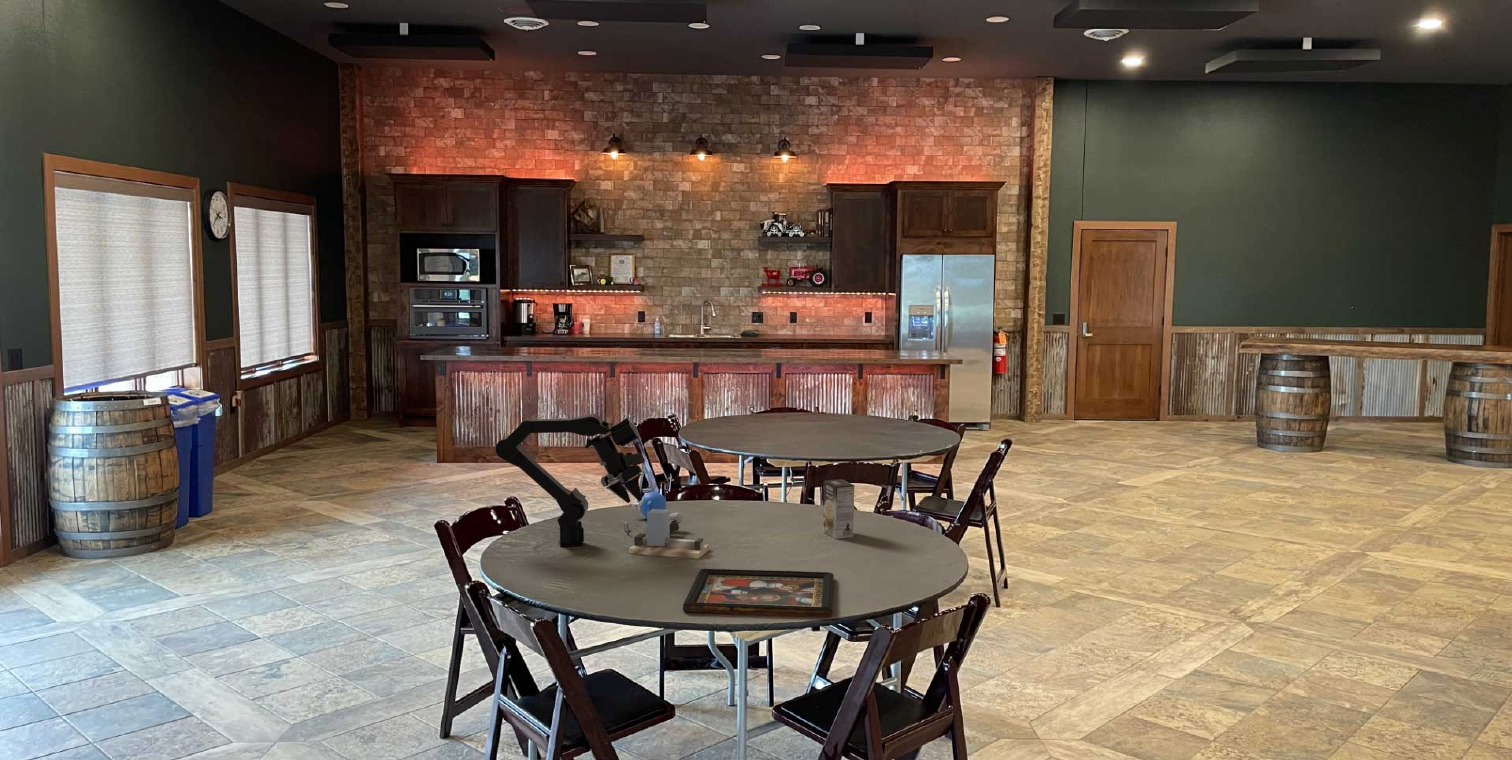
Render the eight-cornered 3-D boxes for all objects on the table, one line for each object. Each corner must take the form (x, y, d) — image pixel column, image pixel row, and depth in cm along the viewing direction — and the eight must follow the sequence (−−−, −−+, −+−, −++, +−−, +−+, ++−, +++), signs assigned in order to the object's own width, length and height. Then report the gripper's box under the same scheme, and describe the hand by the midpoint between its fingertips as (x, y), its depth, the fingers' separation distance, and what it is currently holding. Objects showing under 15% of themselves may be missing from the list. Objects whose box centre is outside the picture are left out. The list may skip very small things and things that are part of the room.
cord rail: (628, 553, 297) (628, 539, 296) (641, 544, 307) (641, 530, 307) (698, 559, 292) (698, 544, 291) (709, 549, 302) (709, 535, 301)
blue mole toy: (632, 513, 345) (632, 488, 344) (668, 514, 345) (668, 488, 344) (626, 522, 333) (626, 496, 332) (663, 523, 333) (663, 496, 332)
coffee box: (822, 532, 322) (822, 480, 321) (840, 530, 325) (841, 478, 323) (835, 539, 314) (835, 486, 312) (854, 537, 316) (855, 484, 314)
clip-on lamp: (621, 546, 316) (680, 535, 314) (616, 526, 315) (674, 515, 313) (629, 533, 327) (685, 522, 325) (624, 514, 326) (680, 502, 324)
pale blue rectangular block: (647, 545, 298) (647, 512, 297) (653, 541, 303) (652, 508, 302) (664, 546, 297) (663, 513, 296) (669, 542, 302) (669, 510, 301)
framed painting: (831, 576, 278) (831, 565, 278) (847, 620, 243) (847, 608, 243) (686, 576, 277) (686, 565, 277) (682, 621, 242) (682, 608, 242)
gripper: (643, 437, 300) (669, 484, 301) (620, 444, 316) (645, 489, 317) (611, 456, 294) (638, 504, 296) (589, 462, 311) (615, 508, 312)
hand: (635, 501), depth 305 cm, fingers open, 9 cm apart
